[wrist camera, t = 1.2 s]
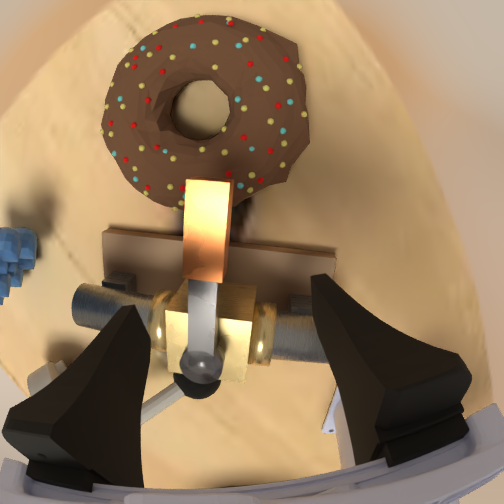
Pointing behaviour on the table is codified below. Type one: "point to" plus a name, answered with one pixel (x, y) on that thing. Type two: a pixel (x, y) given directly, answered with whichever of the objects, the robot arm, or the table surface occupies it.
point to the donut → (240, 102)
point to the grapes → (15, 257)
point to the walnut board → (238, 266)
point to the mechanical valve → (149, 407)
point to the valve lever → (205, 272)
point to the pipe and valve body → (229, 322)
